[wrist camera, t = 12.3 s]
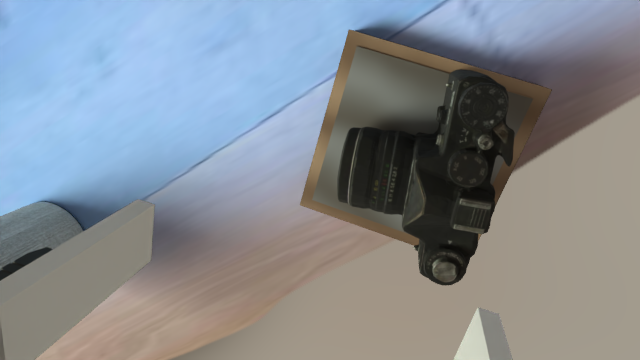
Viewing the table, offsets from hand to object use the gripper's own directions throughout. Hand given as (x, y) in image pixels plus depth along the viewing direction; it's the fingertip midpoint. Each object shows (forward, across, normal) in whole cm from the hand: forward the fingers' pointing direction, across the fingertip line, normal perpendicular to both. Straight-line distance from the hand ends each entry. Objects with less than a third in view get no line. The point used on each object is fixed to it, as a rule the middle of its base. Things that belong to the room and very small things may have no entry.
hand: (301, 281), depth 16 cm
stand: (+23, +4, 0) cm, 24 cm away
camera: (+20, +4, +1) cm, 21 cm away
